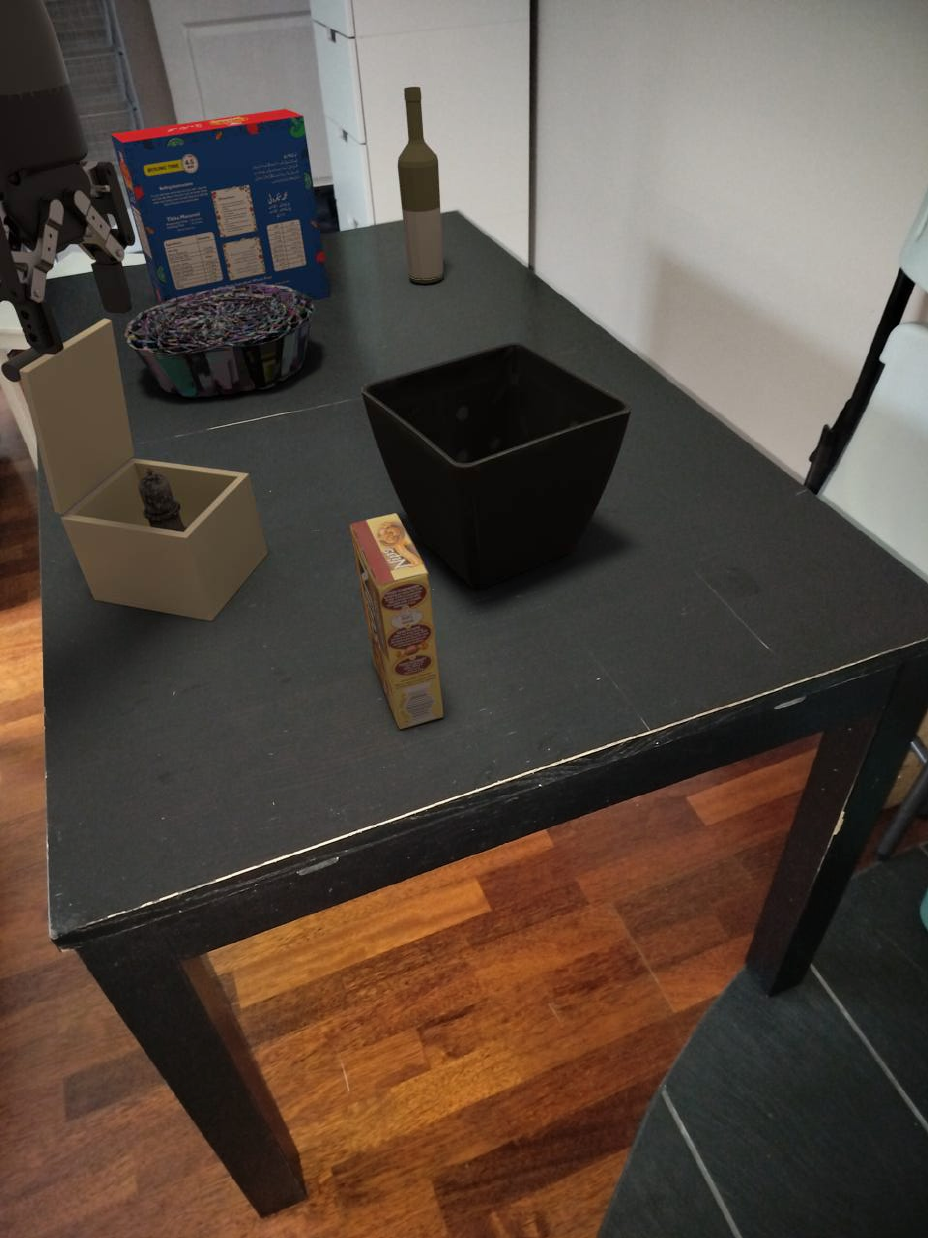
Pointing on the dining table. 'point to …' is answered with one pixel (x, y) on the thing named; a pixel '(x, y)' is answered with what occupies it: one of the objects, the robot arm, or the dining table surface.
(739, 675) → the dining table surface
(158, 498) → the salt shaker
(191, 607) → the tan lidded cardboard box
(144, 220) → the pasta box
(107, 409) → the lid
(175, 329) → the decorative bowl
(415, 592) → the candy box
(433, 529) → the flower pot
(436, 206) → the bottle
